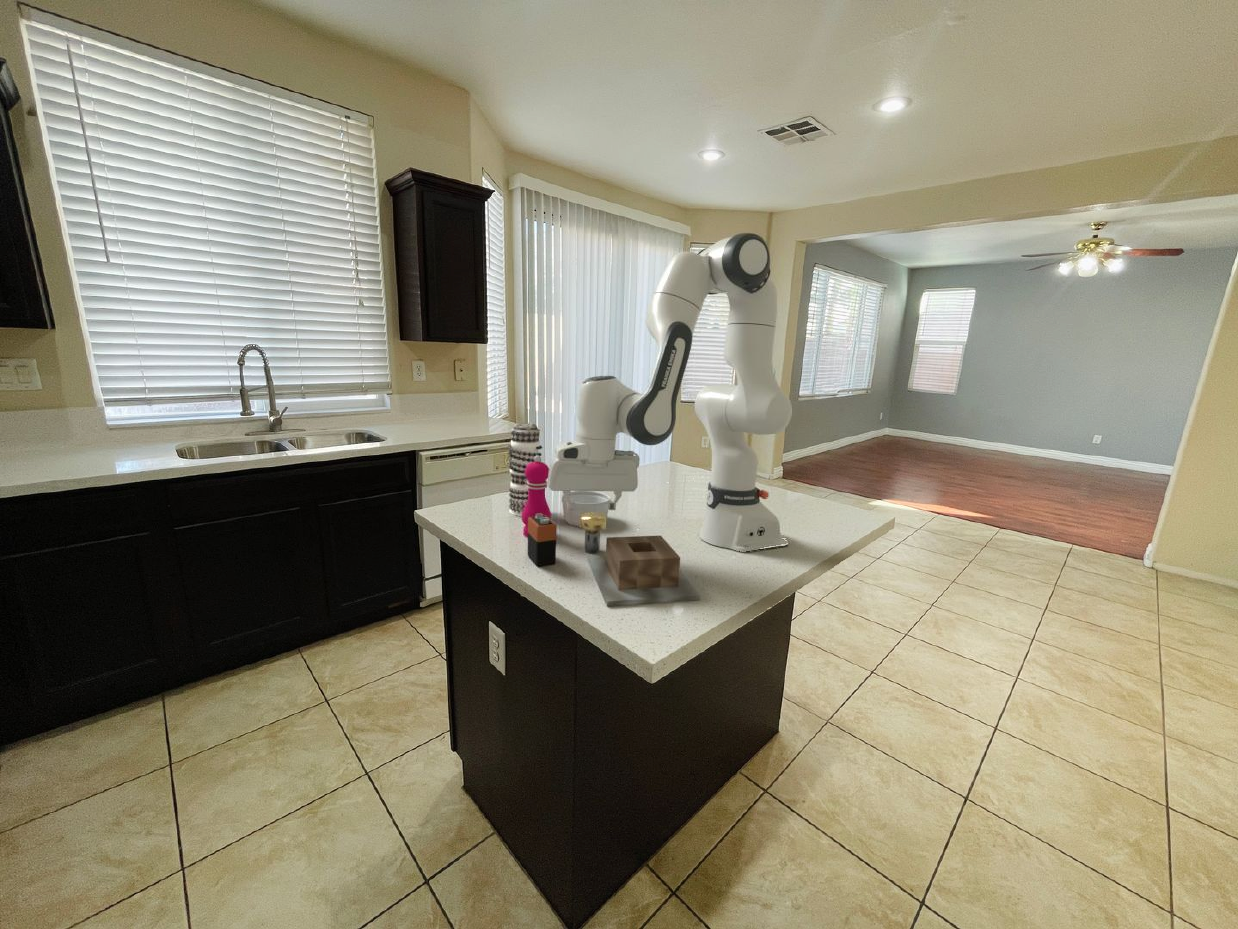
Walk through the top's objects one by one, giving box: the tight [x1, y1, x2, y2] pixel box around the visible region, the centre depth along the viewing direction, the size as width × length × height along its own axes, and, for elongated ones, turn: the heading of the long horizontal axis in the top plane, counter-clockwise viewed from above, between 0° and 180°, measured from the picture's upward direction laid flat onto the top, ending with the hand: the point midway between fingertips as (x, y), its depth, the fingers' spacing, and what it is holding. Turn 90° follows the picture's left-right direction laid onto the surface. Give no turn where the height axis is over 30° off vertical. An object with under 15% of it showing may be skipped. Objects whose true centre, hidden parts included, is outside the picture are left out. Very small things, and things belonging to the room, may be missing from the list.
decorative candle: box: [507, 422, 543, 517], centre depth 136 cm, size 9×9×25 cm
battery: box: [527, 514, 558, 567], centre depth 105 cm, size 4×7×10 cm, turn 28°
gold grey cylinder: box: [579, 512, 608, 555], centre depth 112 cm, size 6×6×8 cm
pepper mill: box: [521, 455, 552, 538], centre depth 120 cm, size 7×7×20 cm
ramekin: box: [561, 491, 611, 528], centre depth 133 cm, size 13×13×7 cm
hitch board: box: [587, 535, 701, 607], centre depth 99 cm, size 18×20×7 cm
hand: (591, 509), depth 111 cm, fingers open, 8 cm apart
